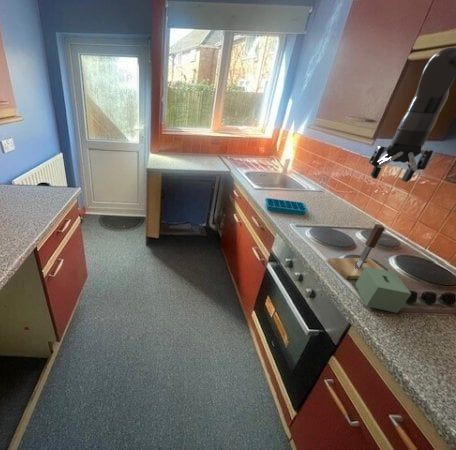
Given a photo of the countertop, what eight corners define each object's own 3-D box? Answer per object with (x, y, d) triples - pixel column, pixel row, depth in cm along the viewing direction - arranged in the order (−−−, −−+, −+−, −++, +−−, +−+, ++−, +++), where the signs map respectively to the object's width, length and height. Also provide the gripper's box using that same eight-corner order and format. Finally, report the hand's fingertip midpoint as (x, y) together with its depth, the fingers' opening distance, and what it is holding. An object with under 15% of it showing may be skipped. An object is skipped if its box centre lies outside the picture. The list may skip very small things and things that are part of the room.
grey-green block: (354, 284, 85) (364, 266, 81) (382, 290, 83) (394, 271, 79) (366, 306, 77) (378, 287, 73) (397, 313, 75) (411, 293, 71)
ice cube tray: (263, 202, 143) (265, 197, 142) (302, 207, 139) (303, 202, 137) (265, 210, 134) (266, 205, 132) (306, 216, 129) (308, 211, 127)
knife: (354, 263, 93) (375, 223, 84) (360, 264, 92) (381, 224, 84) (357, 267, 91) (378, 227, 82) (362, 268, 90) (385, 228, 82)
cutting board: (367, 261, 97) (369, 257, 96) (389, 278, 88) (391, 275, 87) (327, 261, 96) (329, 258, 95) (346, 278, 87) (347, 275, 87)
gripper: (435, 128, 76) (408, 178, 85) (381, 125, 80) (359, 173, 88) (452, 131, 70) (421, 186, 78) (392, 128, 74) (368, 180, 82)
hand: (388, 179), depth 83 cm, fingers open, 8 cm apart
